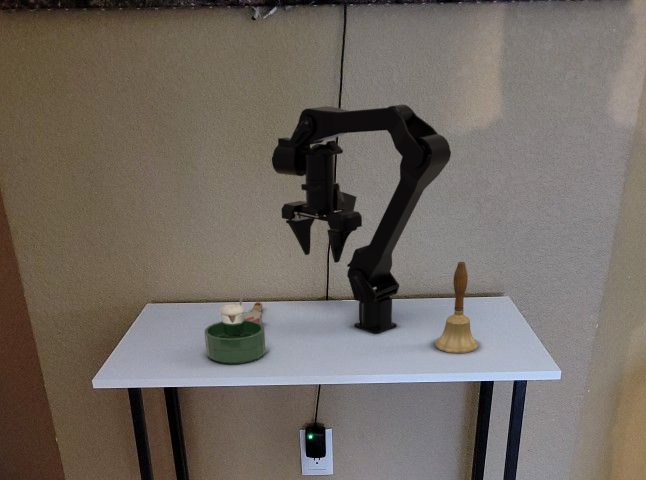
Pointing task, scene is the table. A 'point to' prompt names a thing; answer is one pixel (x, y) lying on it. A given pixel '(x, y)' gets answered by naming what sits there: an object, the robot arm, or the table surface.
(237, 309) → the milkshake
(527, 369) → the table surface
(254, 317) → the paintbrush
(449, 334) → the hand bell
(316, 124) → the robot arm
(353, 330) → the table surface
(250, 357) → the bowl
